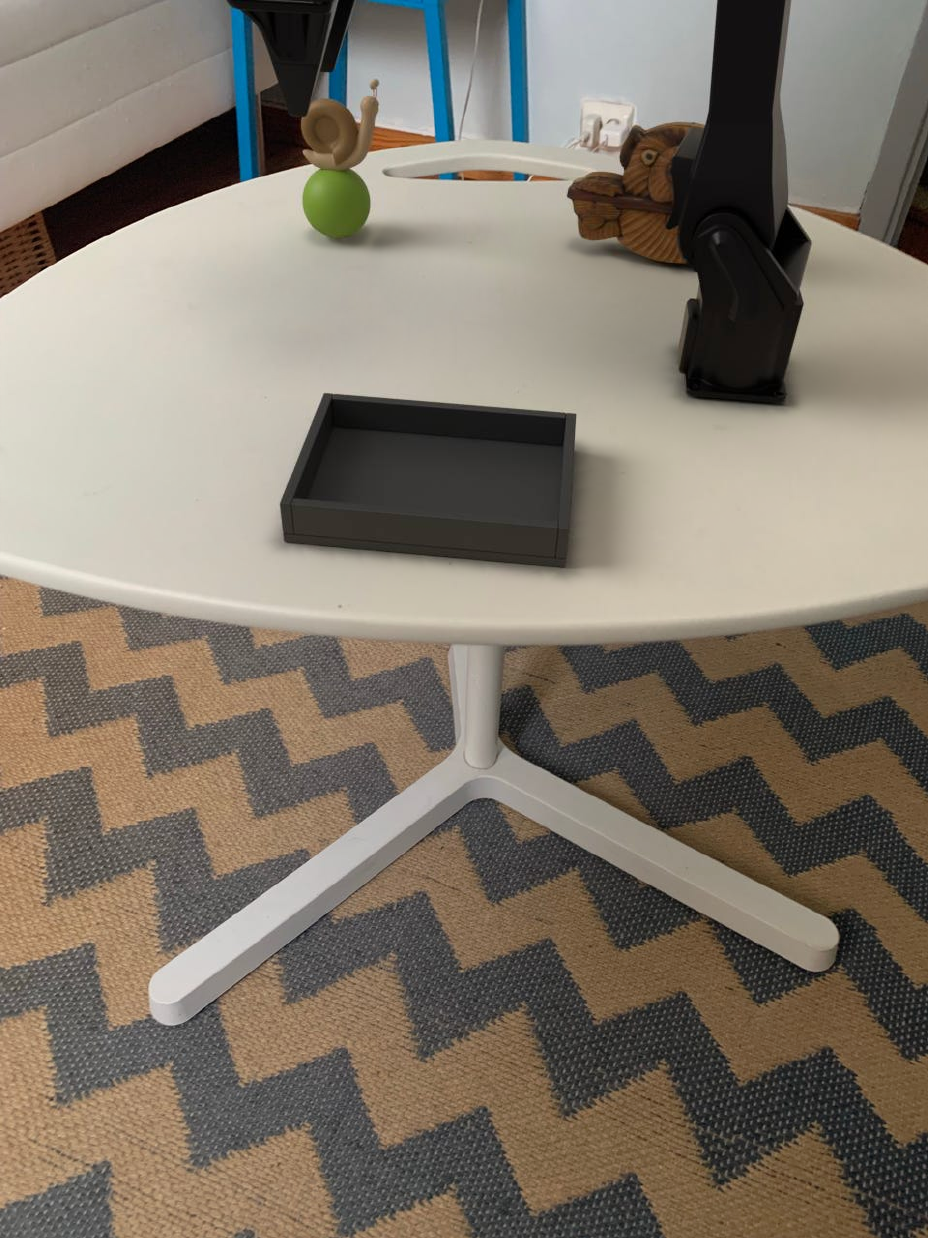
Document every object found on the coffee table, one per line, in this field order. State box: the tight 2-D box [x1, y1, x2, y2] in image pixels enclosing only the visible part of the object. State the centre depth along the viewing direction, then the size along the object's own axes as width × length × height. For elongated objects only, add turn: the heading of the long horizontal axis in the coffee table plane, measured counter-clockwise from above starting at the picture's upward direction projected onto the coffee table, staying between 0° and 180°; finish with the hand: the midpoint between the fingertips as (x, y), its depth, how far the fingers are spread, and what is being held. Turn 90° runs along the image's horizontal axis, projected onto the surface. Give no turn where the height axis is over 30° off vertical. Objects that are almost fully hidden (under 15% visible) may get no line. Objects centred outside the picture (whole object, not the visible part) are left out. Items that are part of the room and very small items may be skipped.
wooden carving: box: [566, 121, 705, 264], centre depth 81 cm, size 16×5×10 cm, turn 78°
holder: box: [279, 392, 577, 568], centre depth 59 cm, size 15×11×3 cm
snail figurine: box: [300, 78, 380, 239], centre depth 81 cm, size 5×6×12 cm
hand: (312, 92), depth 68 cm, fingers open, 9 cm apart
